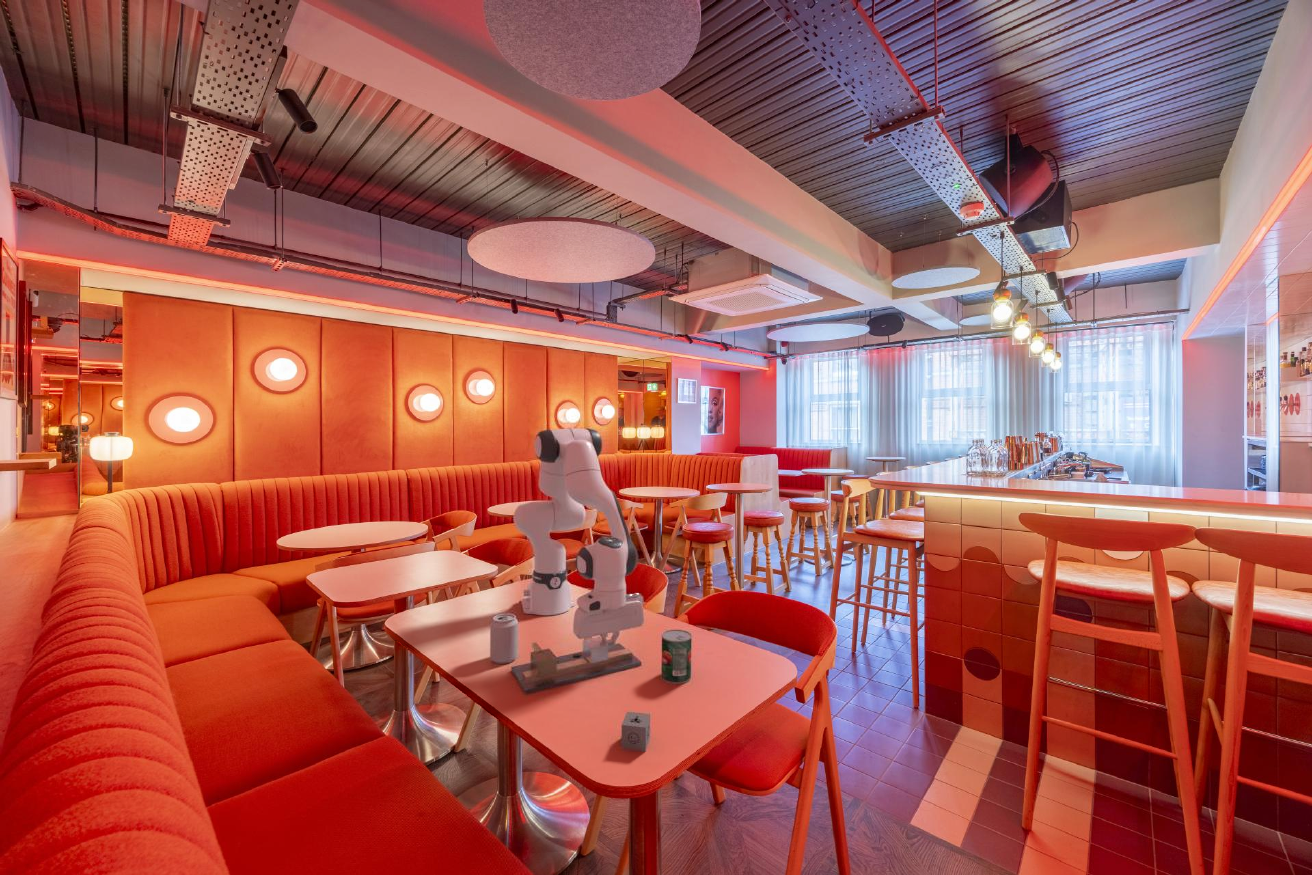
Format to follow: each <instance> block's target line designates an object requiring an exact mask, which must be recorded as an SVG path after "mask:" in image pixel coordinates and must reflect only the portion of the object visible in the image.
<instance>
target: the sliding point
mask: <svg viewBox="0 0 1312 875" xmlns="http://www.w3.org/2000/svg"><path fill="white" fill-rule="evenodd" d="M582 651H583V656H584V657H585V658H586V659H587V660H588V661H589V662H590V663H596V662H600V661H604V660H608V644H607V643H606V642H605V641H604V640H602V638H601V636H596V637H588V638H583V640H582Z"/></svg>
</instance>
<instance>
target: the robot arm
mask: <svg viewBox="0 0 1312 875" xmlns="http://www.w3.org/2000/svg"><path fill="white" fill-rule="evenodd" d="M533 444H534V445H533V446H534V447H533V449H534V454H535V456H536V458H537V459H538V460H539V461H540V467H539V474H538V475H539V476H538V484H537V485H538V488H539V490H540V491H541V492H542V493H543V494H544V495H546V496H548V497H550V498H552V499H551V500H542V501H541V500H540V501H539V500H538V501H529V502H525V503H522V504H518V506H517V507H516V509H515V510H514V513H513V522H514V526H515V528H516V529H517V530H518V531H519V532H520V533H522V534H523V535H524V536H525V537H526V538H527V539H528V540H529V542H530V545H531V546H532V550H533V560H534V569H533V572H532V580H531V582H529V584H528V585H527V589H524V590H523V597H522V598H521V599H520V602H521V608H522V610H523V612H522V613H523V614H527V615H528V614H529V615H530V614H531V615H537V616H555V615H561V614H563V613H566V612H568V611H569V610H570V609H571V608H573V607H574V606H575V605H577V606H578V607H577V608H576V610H574V611H575V612H574V616H573V623H572V624H573V626H572V627H573V628H572V631H573V634H574V635H575V637H577V638H578V639H579V640H582V639H583V640H584V638H588V637H592V638H594V637H598V636H599V637H600V638H601V639H602V640H604V641H605V642H606V643H607V644H608V649H609V648H613V647H615V645H616V644H617V642H616V641H617V640H618V638H619V637H620V632H621V631H625V630H631V629H636V628H640V627H642V626H643V625H644V624H645V613H644V607H643V605H644V596H643V595H642V594H641V593H638V592H634V593H628V594H627V584H626V576H629V575H631V574H632V573H633V572H634V570H635V569H637V568H636V567H637V565H638V563H639V554H638V551H637V550H638V549H637V548H636V546H635V544H634V542H633V539H632V538H631V536H630V532H629V529H628V525H627V523H626V520H625V518H624V515H623V511H622V509H621V505H620V503H619V500H618V498H617V496H616V494H615V492H614V491H613V490H612V489H610V488H609V487H608V486H607V484H606V482H605V481H604V479H603V476H602V471H601V466H600V461H599V456H600V455H601V453H602V451H603V440H602V436H601V435H600V433H599V432H598V430H595V429H593V428H588V427H587V428H579V427H578V428H576V427H575V428H574V427H567V428H557V429H544V430H541V431H539V432H538V433H537V434H536V436H535V438H534V443H533ZM585 507H589V508H590V509H591V508H592V509H594V510H596V511H597V512H600V513H601V514H603V516H604V517H605V519H606V523H607V525H608V528H609V532H610V534H611V536H603V537H599V538H598V539H597V540H596V542H595V543H593V544H589V545H585V546H582V547H581V548H580V549H579V551H578V552H577V554H576V557H575V565H576V566H575V567H576V572H577V574H579V575H580V576H581V577H582V578H583V579H586V580H593V581H594V586H593V589H592V590H590V591H589V592H588V593H585V594H583V595H581V596H579V597H578V598H577V599H576V602H575V601H574V600H572V589H571V587H572V586H571V583H570V582H569V581H568V580H567V579H568V569H567V565H566V564H567V557H566V555H567V550H566V548H565V545H563V544H562V543H561V542H559V541H557V540H555V539H552V538H551V536H550V533H553V532H559V531H562V532H563V531H570V530H574V529H578V528H580V527H582V526H583V525H584V523H585V521H586V518H587V517H586V516H587V512H586V509H585ZM611 633H612V635H611V637H610V639H607V638H608V635H609V634H611Z"/></svg>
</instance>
